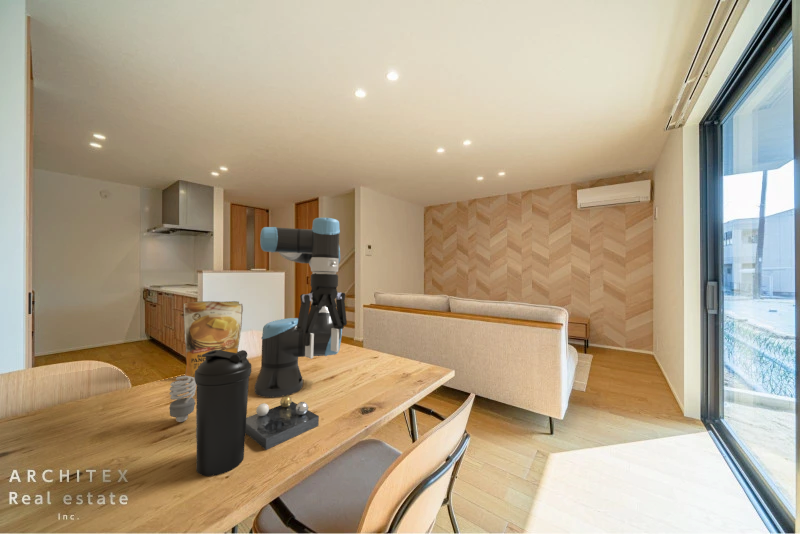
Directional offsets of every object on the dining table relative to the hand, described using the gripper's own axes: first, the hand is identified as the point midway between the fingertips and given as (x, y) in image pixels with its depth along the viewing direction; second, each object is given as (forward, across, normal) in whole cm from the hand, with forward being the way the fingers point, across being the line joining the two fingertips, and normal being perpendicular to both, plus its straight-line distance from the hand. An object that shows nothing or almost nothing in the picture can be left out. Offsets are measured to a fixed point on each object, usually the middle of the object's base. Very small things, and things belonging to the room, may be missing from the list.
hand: (322, 353), depth 82 cm
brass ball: (+13, -6, +7) cm, 16 cm away
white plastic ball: (+13, -13, +7) cm, 20 cm away
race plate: (+17, -10, +2) cm, 20 cm away
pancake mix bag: (+17, -9, +55) cm, 58 cm away
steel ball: (+13, -6, 0) cm, 14 cm away
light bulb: (+17, -26, +24) cm, 39 cm away
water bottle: (+17, -26, -1) cm, 31 cm away
